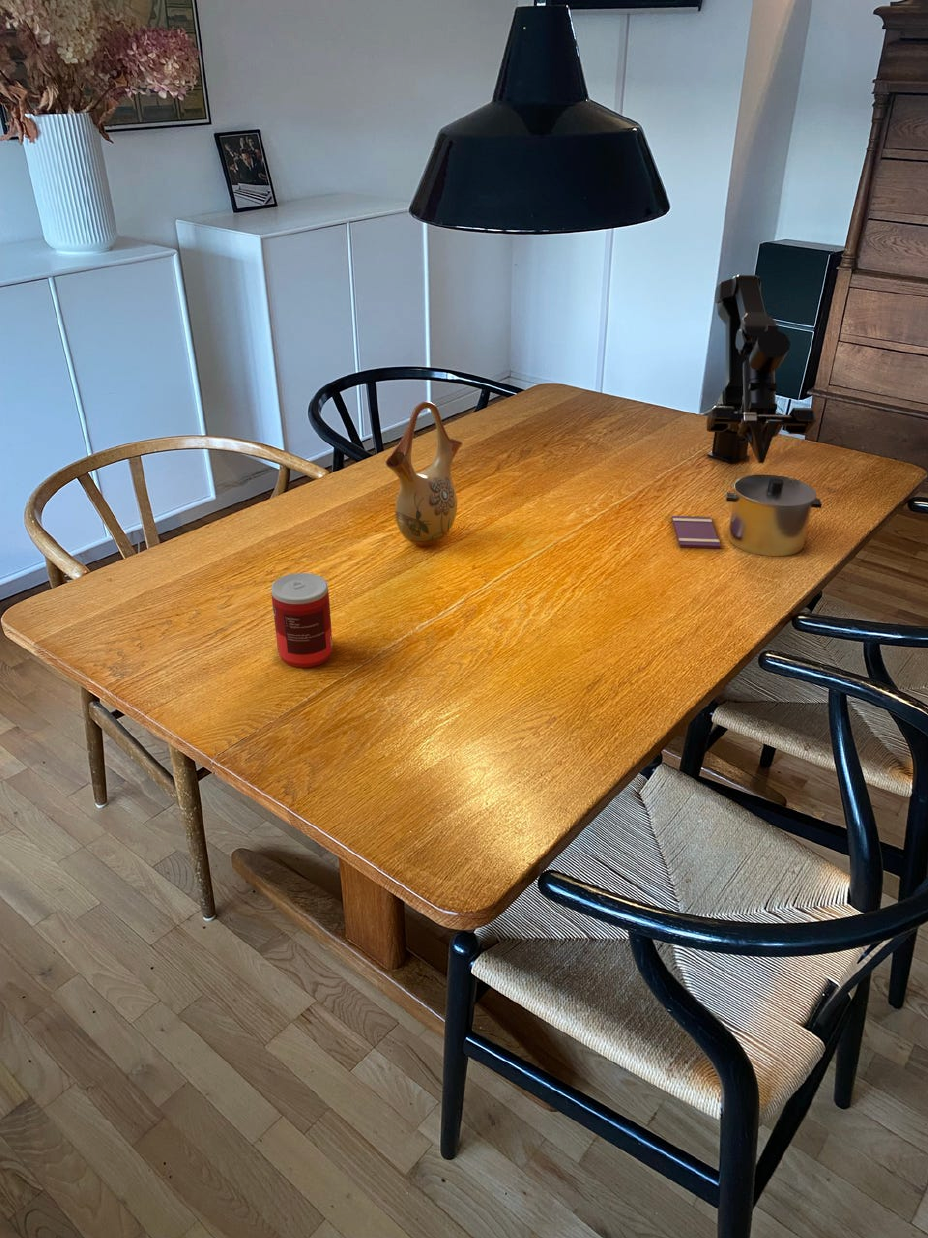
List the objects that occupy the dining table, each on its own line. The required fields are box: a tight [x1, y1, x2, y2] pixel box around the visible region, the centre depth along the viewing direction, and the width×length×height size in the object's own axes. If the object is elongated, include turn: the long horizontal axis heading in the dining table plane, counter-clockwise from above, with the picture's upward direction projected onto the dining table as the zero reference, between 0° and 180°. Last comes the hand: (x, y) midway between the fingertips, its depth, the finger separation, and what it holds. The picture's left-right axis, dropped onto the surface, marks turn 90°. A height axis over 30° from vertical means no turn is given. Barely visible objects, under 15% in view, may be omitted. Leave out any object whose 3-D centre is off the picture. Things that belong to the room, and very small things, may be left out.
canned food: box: [270, 572, 334, 669], centre depth 129 cm, size 8×8×11 cm
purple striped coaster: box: [671, 515, 722, 550], centre depth 166 cm, size 12×7×1 cm, turn 176°
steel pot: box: [724, 474, 823, 557], centre depth 161 cm, size 14×16×11 cm
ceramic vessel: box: [385, 401, 463, 547], centre depth 157 cm, size 16×9×25 cm, turn 136°
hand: (761, 462), depth 171 cm, fingers closed
